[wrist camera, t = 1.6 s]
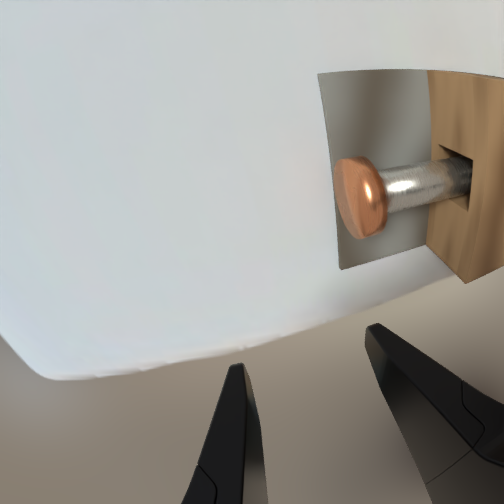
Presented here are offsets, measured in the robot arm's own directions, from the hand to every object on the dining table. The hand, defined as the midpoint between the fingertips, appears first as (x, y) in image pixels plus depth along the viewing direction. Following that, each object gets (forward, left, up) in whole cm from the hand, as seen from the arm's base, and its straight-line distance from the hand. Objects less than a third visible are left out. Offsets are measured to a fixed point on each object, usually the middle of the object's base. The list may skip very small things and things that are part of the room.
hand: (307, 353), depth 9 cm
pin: (-7, -7, -11) cm, 15 cm away
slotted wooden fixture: (-10, -10, -12) cm, 19 cm away
